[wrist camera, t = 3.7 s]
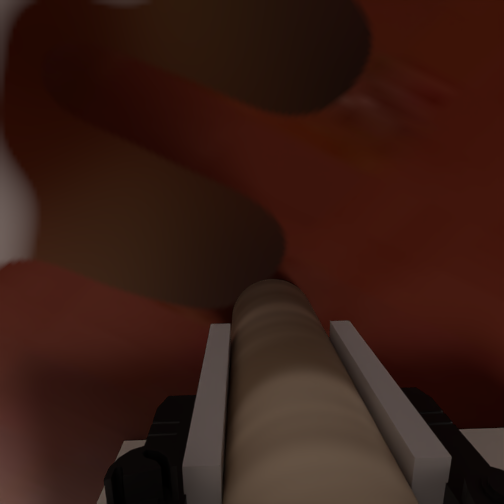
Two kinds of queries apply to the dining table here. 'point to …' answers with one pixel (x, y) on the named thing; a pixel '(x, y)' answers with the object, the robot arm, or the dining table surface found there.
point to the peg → (298, 412)
